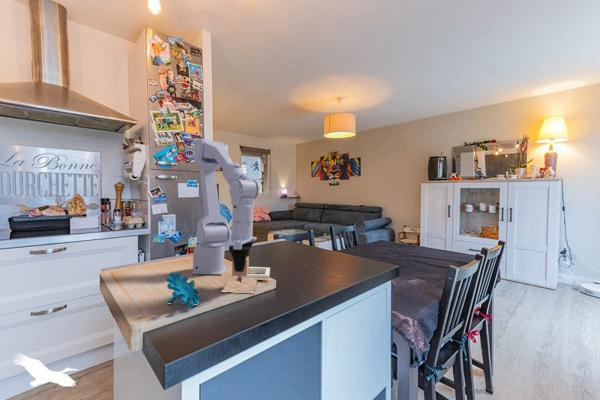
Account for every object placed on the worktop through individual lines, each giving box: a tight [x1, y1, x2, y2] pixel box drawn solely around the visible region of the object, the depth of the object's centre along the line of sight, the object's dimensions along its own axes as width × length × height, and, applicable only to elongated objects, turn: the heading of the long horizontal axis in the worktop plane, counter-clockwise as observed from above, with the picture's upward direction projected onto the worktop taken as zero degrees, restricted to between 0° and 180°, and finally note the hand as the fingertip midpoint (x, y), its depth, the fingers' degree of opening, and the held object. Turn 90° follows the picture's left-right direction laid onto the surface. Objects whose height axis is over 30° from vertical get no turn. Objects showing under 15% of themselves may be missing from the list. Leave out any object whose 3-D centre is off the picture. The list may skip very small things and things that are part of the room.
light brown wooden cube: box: [231, 256, 250, 277], centre depth 76 cm, size 4×4×4 cm
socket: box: [240, 266, 271, 279], centre depth 86 cm, size 8×8×2 cm
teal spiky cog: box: [165, 271, 202, 308], centre depth 64 cm, size 11×6×10 cm
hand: (240, 268), depth 76 cm, fingers closed on light brown wooden cube, 4 cm apart
